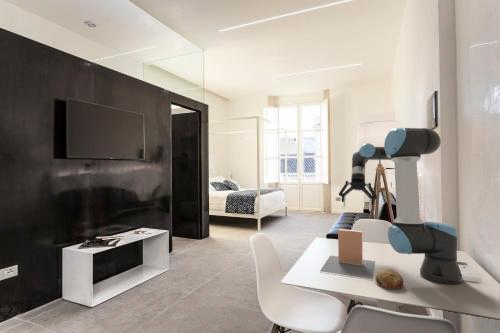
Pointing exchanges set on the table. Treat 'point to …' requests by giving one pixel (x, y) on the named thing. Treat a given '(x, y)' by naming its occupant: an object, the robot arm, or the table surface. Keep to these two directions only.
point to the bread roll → (389, 279)
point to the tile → (350, 246)
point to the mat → (349, 268)
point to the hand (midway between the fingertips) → (357, 208)
